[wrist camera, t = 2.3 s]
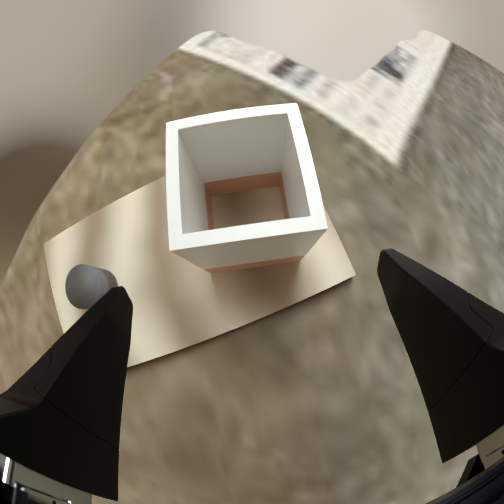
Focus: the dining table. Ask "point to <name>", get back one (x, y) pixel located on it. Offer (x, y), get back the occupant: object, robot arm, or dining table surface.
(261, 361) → the dining table surface
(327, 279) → the pin board
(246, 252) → the sleeve
